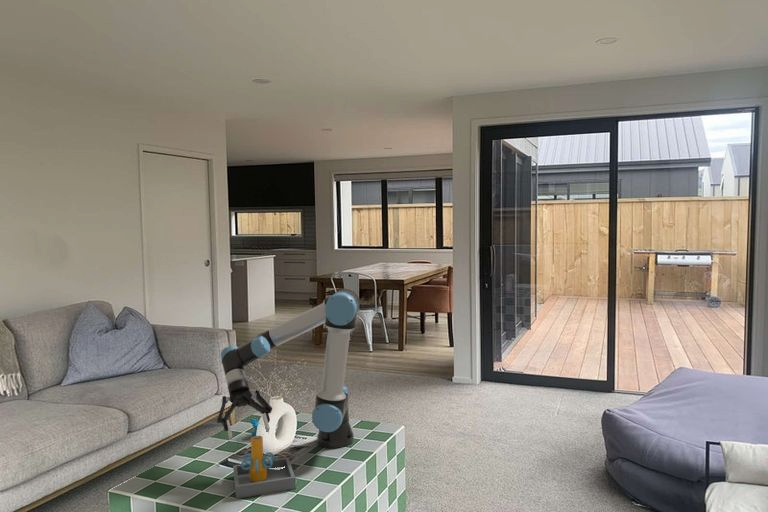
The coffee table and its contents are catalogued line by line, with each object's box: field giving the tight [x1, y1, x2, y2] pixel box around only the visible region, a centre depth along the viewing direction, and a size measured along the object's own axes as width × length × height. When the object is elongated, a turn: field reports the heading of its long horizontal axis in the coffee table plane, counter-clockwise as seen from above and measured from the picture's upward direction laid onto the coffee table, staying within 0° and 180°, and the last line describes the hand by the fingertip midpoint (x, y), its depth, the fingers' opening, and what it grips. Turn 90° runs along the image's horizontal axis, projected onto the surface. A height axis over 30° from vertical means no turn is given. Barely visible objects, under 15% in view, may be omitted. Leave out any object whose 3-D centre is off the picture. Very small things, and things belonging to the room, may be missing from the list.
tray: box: [232, 457, 297, 499], centre depth 208 cm, size 20×18×4 cm
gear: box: [250, 418, 260, 437], centre depth 252 cm, size 11×6×10 cm
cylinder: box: [241, 435, 275, 482], centre depth 208 cm, size 12×10×15 cm
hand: (249, 434), depth 213 cm, fingers open, 13 cm apart
